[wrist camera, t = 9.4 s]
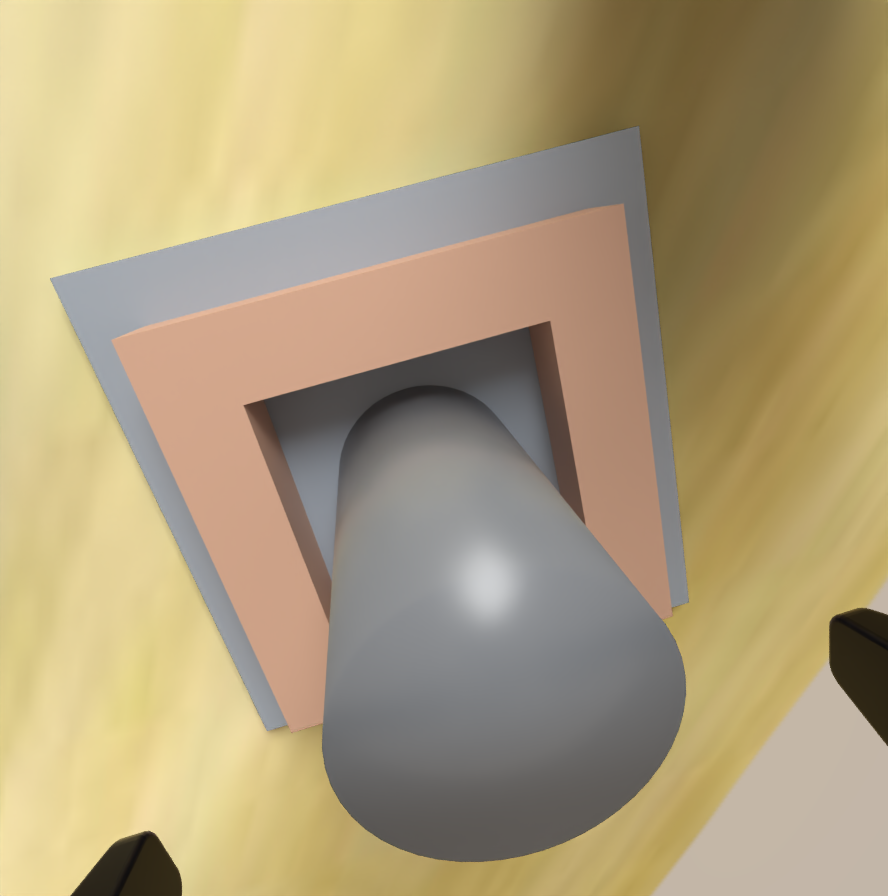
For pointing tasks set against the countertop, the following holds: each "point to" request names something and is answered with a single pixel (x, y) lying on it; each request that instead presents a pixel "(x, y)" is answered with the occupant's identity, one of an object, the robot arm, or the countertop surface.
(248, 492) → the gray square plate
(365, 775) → the grey rounded tapered cylinder
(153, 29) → the countertop surface
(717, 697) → the countertop surface
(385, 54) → the countertop surface
